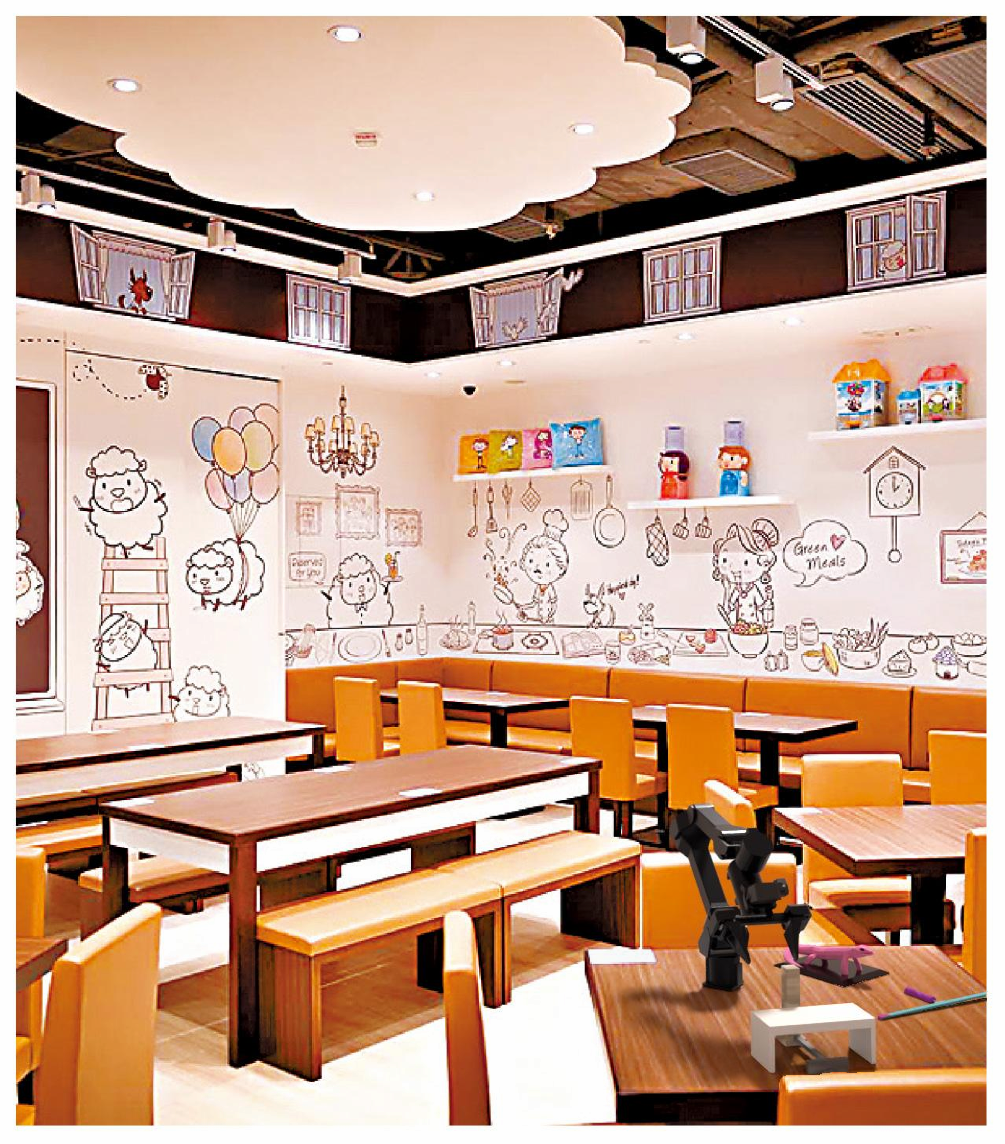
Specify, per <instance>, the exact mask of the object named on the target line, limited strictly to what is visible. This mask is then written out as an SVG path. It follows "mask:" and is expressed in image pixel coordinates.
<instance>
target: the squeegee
mask: <svg viewBox="0 0 1005 1144" xmlns="http://www.w3.org/2000/svg"><path fill="white" fill-rule="evenodd" d="M986 992H987V991H983V992H980V993H979V992H978V993H974V994H970V995H965V996H962V997H957V998H953V999H948V1000H939V1001H937V998H936V997H935V996H932V995H930V994H926V993H924V992H922V991H917V990H916V989H915V988H913V987H910V986H906V987H905V988H904V992H903V993H904V994H905V993H906V994H905V995H908V996H911V995H912V996H911V997H913V996H914V998H916V997H917V999H919V998H920V999H919V1000H921V999H922V1000H921V1001H923V1000H924V1002H925V1003H928V1002H934V1003H928V1004H924V1005H921V1006H916V1007H911V1008H908V1009H902V1010H898V1011H894V1012H889V1013H885V1014H879V1015H877V1020H881V1021H883V1020H886V1019H890V1018H894V1017H897V1016H903V1015H902V1014H905V1015H909V1013H910V1014H913V1013H919V1012H924V1011H923V1010H925V1011H928V1010H927V1009H930V1010H933V1008H936V1007H940V1006H946V1007H950V1006H949V1005H951V1006H953V1005H952V1004H955V1003H958V1002H964V1001H967V1000H971V999H975V998H981V997H982V998H983V997H985V996H986ZM955 1005H956V1004H955ZM936 1009H937V1008H936ZM907 1013H908V1014H907Z"/></svg>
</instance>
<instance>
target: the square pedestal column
mask: <svg viewBox="0 0 1005 1144" xmlns="http://www.w3.org/2000/svg"><path fill="white" fill-rule="evenodd" d="M780 973H781V975H780V981H781V984H780V986H781V987H780V988H781V991H780V992H781V1008H794V1007H801V974H800V968H798V967H797V966H795V965H781V968H780ZM775 1039H776V1040H777V1041H778V1042H780V1043H781V1044H782V1045H783V1046H784V1047H785V1048H786V1047H795V1046H800V1047H802V1048H803V1049H804V1050H805V1051H806V1052H808V1054H810V1055H811V1056H813V1057H814V1058H815V1059H814V1058H812V1059H805V1060H806V1061H805V1064H806V1068H805V1069H806V1073H807V1074H808V1075H817V1073H821V1074H822V1071H823V1070H825V1069H841V1070H844V1071H846V1072H849V1071H850V1066H849V1065H850V1061H849V1058H848V1057H847V1056H836V1057H827V1056H826V1055H824V1054H823V1053H822V1052H821V1051H820V1050H818V1049H817V1048H816V1047H815V1046H813V1045H812V1044H811V1043H810V1042H809V1041H808V1038H807V1037H805V1036H804V1035H803V1034H802V1033H801V1034H788V1035H776V1036H775Z"/></svg>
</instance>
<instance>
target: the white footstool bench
mask: <svg viewBox="0 0 1005 1144" xmlns="http://www.w3.org/2000/svg"><path fill="white" fill-rule="evenodd" d="M876 1028H877V1027H876V1017H875V1016H873V1015H872V1014H870V1013H868V1012H867V1011H866V1010H863V1008H861V1007H859V1006H858V1005H856V1004H855V1003H853V1002H850V1003H849V1002H848V1003H837V1004H836V1003H834V1004H821V1005H810V1006H800V1007H794V1008H782V1007H781V1008H770V1009H759V1010H750V1053H751V1054H750V1055H751V1057H752V1058H754V1059H755V1060H756V1061H757V1062H758V1063H759V1064H760V1065H761V1066H762V1067H764V1068H765V1069H766V1070H767V1071H768V1073H770V1074H774V1073H776V1048H775V1047H776V1041H775V1039H776V1035H788V1034H801V1035H802V1034H810V1033H823V1032H833V1031H834V1032H836V1031H845V1030H847V1031H848V1047H849V1049H851V1050H852V1051H854V1052H855V1053H856V1054H858V1055H859V1056H860V1057H862V1058H863V1059H864V1060H866V1062H867V1061H868V1063H870V1064H871V1065H875V1064H877V1037H876V1036H877V1035H876V1034H877V1033H876Z"/></svg>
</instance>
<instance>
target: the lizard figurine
mask: <svg viewBox="0 0 1005 1144" xmlns="http://www.w3.org/2000/svg"><path fill="white" fill-rule="evenodd" d="M799 955H801V956H799V959H798V961H795V960H794V959H793V957H792V955H791V952H790V950H789V947H788V946H787V947H786V948H784V951H783V953H782V957H783V960H784V961H781V962H779V963H778V962H777V963H774V964H773V967H775V968H780V969H781V965H795V966H797V967H798V968H800V975H802V976H805V977H808V978H812V979H815V980H819V981H821V980H823V981H822V982H825V983H828V984H832V985H834V984H837V985H836V986H838V985H840V986H839V987H841V986H843V987H842V988H844V987H845V988H847V987H846V986H848V987H850V986H849V985H851V986H853V985H852V984H855V985H857V983H858V984H860V983H859V982H861V983H863V982H862V981H865V980H868V981H871V980H874V979H873V978H875V979H877V978H876V977H878V978H880V977H879V976H881V977H884V975H885V976H887V975H886V974H888V975H890V974H889V973H890V972H889V971H886V970H884V969H881V968H878V967H874V966H870V965H867V964H864V963H861V962H860V960H859V959H860V958H865V957H869V956H874V955H875V953H874V952H873V950H872V948H870V946H869V945H865V944H860V945H856V946H825V947H824V946H819V945H816V944H802V943H799ZM802 955H803V956H802ZM850 959H852V960H850ZM865 982H866V981H865Z"/></svg>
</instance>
